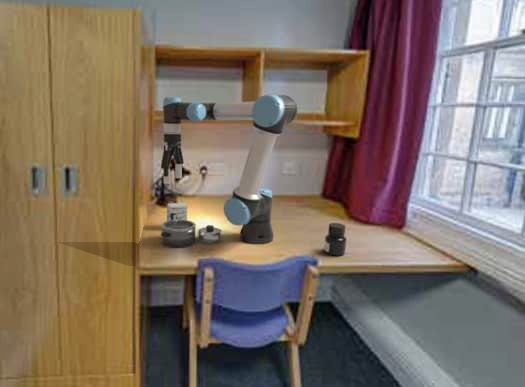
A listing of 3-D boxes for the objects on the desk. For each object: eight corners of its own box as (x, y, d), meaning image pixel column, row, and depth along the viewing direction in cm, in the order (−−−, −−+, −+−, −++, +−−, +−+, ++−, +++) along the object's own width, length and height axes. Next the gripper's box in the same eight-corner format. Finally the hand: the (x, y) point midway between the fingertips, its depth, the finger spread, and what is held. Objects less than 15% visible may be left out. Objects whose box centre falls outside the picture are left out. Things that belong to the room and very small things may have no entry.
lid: (225, 239, 184) (226, 225, 182) (212, 246, 175) (212, 231, 174) (207, 235, 188) (207, 221, 187) (193, 241, 180) (193, 226, 178)
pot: (179, 233, 188) (180, 216, 187) (204, 239, 182) (205, 222, 180) (150, 244, 173) (150, 226, 171) (177, 252, 166) (177, 233, 164)
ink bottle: (327, 246, 182) (329, 220, 179) (347, 250, 179) (350, 224, 176) (321, 254, 173) (323, 226, 170) (342, 258, 170) (345, 230, 167)
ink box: (168, 231, 190) (168, 206, 187) (166, 228, 194) (166, 203, 192) (187, 229, 193) (187, 205, 191) (184, 226, 198) (185, 202, 195)
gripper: (175, 130, 195) (175, 175, 200) (152, 134, 171) (153, 185, 176) (190, 131, 194) (190, 176, 199) (169, 135, 170) (169, 186, 175)
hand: (172, 180), depth 187 cm, fingers open, 13 cm apart
